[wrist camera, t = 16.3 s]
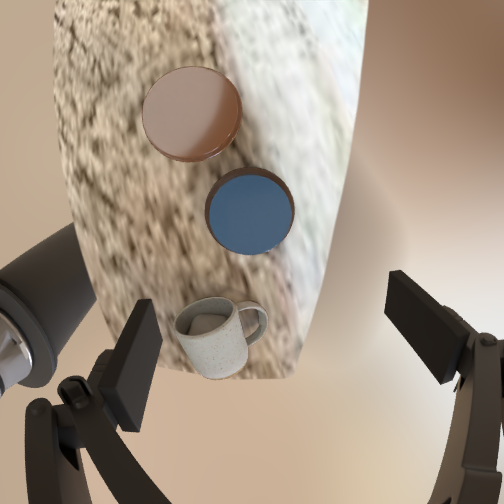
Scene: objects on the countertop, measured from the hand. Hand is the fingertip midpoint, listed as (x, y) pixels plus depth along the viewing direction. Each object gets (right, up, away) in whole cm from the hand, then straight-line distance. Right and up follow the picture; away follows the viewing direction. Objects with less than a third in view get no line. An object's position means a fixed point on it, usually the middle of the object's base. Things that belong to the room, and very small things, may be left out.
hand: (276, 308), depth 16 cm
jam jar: (-7, +17, +14) cm, 23 cm away
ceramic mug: (-5, -6, +23) cm, 24 cm away
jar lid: (-1, +7, +16) cm, 18 cm away
